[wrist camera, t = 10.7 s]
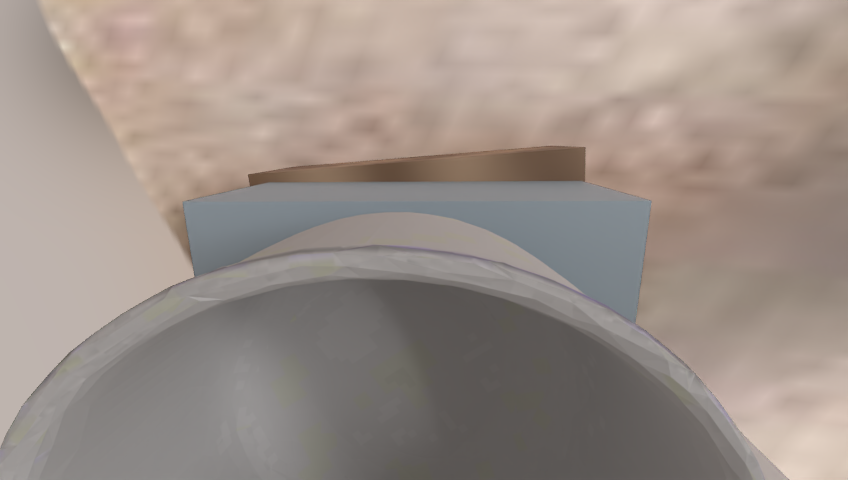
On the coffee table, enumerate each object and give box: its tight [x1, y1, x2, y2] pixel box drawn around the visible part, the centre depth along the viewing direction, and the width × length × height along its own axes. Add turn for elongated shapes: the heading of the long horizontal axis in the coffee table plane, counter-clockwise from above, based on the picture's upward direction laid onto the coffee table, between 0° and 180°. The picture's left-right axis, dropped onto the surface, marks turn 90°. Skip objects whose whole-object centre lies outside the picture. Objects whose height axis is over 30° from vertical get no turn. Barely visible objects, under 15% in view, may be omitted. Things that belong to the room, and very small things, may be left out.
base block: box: [248, 146, 585, 186], centre depth 22 cm, size 15×15×6 cm
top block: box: [183, 181, 651, 323], centre depth 16 cm, size 14×14×6 cm
